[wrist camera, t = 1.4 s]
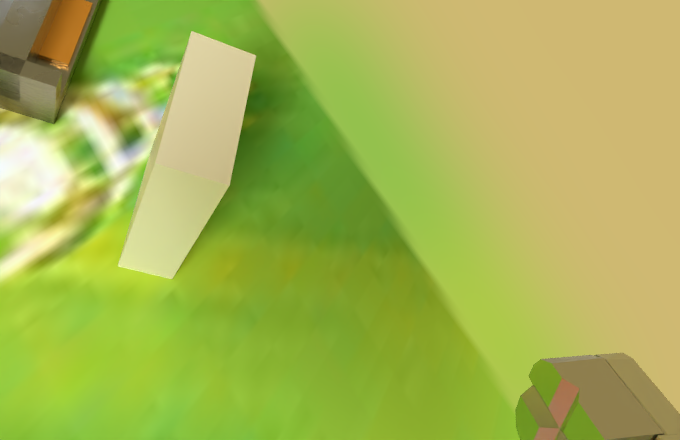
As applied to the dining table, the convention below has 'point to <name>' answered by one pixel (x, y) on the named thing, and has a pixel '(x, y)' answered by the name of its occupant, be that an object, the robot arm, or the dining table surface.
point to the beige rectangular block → (189, 156)
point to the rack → (41, 52)
